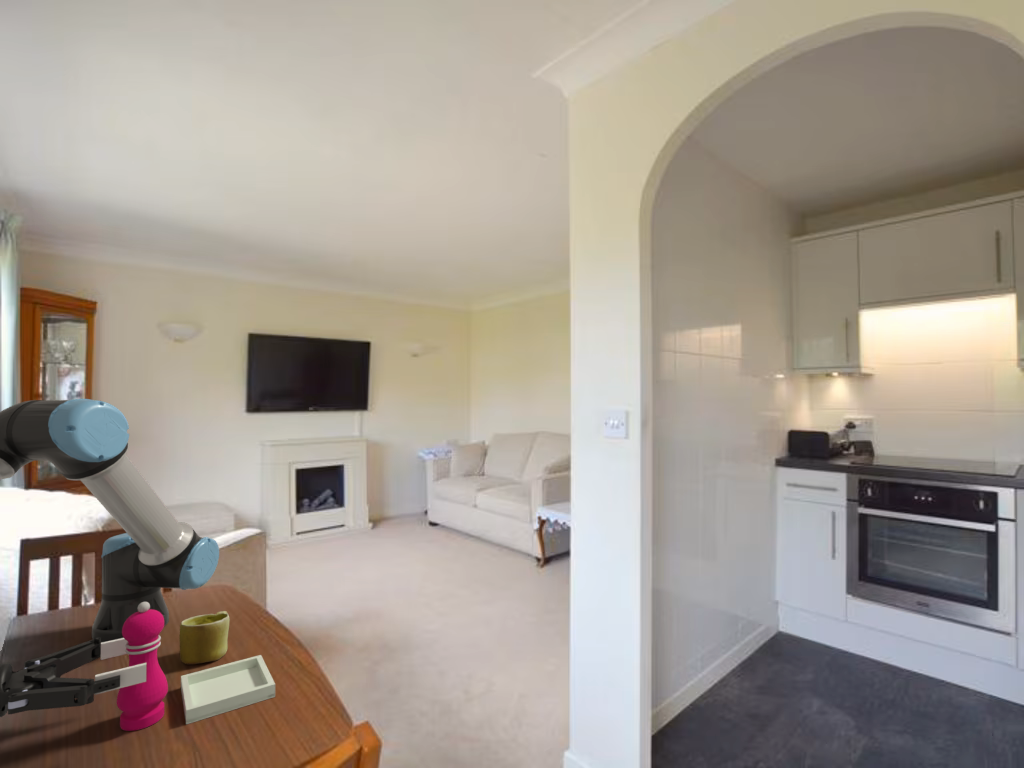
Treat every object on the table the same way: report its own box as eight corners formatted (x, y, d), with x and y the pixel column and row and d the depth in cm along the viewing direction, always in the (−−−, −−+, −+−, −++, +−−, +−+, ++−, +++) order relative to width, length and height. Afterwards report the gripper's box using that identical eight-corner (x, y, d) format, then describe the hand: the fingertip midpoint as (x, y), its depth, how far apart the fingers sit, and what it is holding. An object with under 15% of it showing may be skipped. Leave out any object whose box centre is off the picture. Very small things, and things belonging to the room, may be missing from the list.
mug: (209, 663, 106) (203, 611, 109) (167, 675, 108) (163, 624, 111) (253, 648, 117) (247, 601, 120) (215, 659, 119) (210, 613, 122)
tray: (180, 688, 100) (180, 675, 100) (260, 666, 108) (261, 654, 108) (186, 724, 89) (186, 710, 89) (275, 696, 97) (275, 684, 97)
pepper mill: (110, 737, 86) (112, 613, 86) (123, 713, 92) (124, 598, 93) (163, 726, 88) (164, 605, 89) (171, 703, 95) (172, 591, 96)
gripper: (-8, 685, 89) (145, 650, 101) (-54, 769, 68) (146, 712, 80) (-8, 640, 89) (146, 610, 101) (-53, 710, 68) (146, 662, 81)
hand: (146, 655), depth 91 cm, fingers open, 13 cm apart
